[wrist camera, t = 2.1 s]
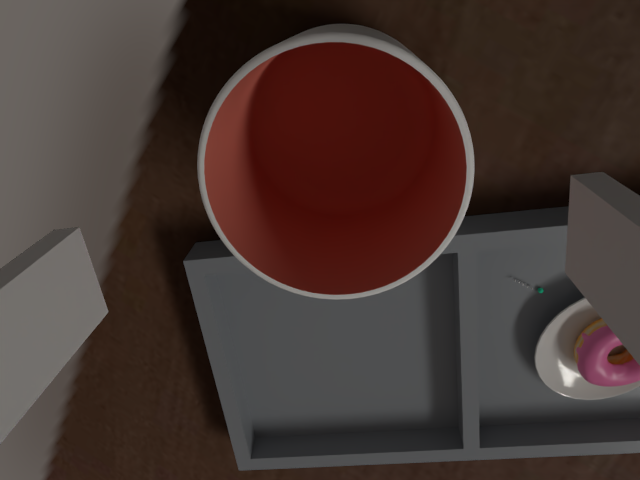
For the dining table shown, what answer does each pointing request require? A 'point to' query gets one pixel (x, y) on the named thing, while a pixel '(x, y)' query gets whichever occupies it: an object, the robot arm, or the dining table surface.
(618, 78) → the dining table surface
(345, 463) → the carrier tray
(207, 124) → the cup
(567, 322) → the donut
